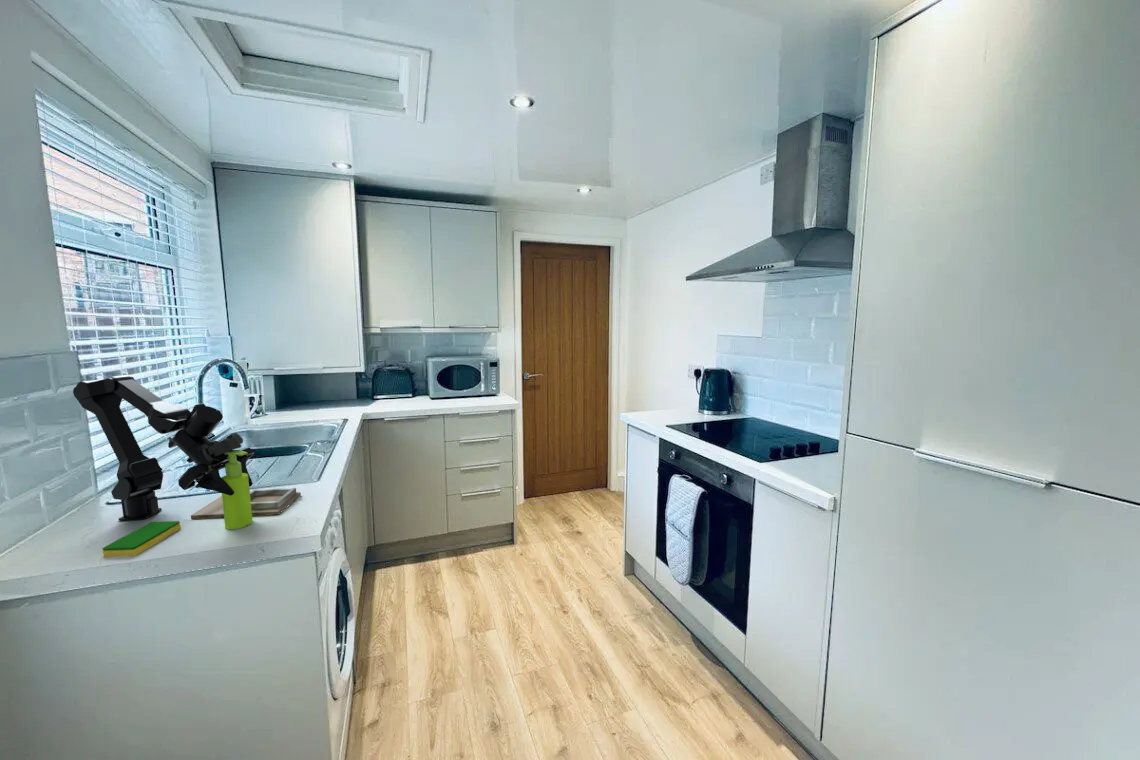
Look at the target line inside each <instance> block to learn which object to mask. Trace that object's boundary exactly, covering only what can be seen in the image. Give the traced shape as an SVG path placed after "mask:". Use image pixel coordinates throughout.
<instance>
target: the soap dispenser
mask: <svg viewBox="0 0 1140 760" xmlns="http://www.w3.org/2000/svg"><path fill="white" fill-rule="evenodd" d="M246 454H247V452H245V451H241V450H239V449H234V450H231V451H228V452H226V453H224V455H228V456H227V459H228V460H229V462H228V463H227V464H225V468H224V470H225V475H224V476H222V477H221V478H222V479H223V480H224V481H225V482H226V483H227V484H228V485H229V486H230V487H231V488H232V490H233V491H234V494H233V495H232V496H230V495H227V494H223V493H221V496H222V501H223V511H224V517H223V519H224V527H225V529H227V530H238V529H241V528H245V527H248V526H249V524H250V523H251V524H252V523H253V516H252V510H251V500H250V492H251V491H250V490H251V489H250V487H249V479H248V474H247V473H242V468H241V462H238V461H237V458H236V455H238V456H243V455H246ZM251 524H250V525H251ZM247 525H248V526H247ZM244 526H245V527H244Z"/></svg>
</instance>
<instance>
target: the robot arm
mask: <svg viewBox="0 0 1140 760" xmlns="http://www.w3.org/2000/svg"><path fill="white" fill-rule="evenodd" d="M72 392H73V396H74V398H75V399H76V400H77V402H78V403H79V404H80V406H81V407H82V408H83V409H84V410H87V411H88V412H90V413H92V414H94V416H95V417H96V418H97V422H98V423H99V425H100V427H101V428H102V431H103V433H104V435H105V436H106V439H107V441H108V443H109V445H110V447H111V449H112V450H113V452H114V455H115V456H116V459H117V460H118V463H119V465H118V468H117V472H116V477H117V480H118V482H117V483H116V484H115V486H114V487H113V488H112V490H111V491H110V493H111V496H112V498H113V499H114V500H119V501H121V502H120V503H121V509H122V516H121V517H118V521H135V520H136V521H139V520H140V521H141V520H146V519H148V518H149V517H151V516H153V515H155V514H158V512H160V511H162V507H159V502H158V496H156V491H157V490H160V489H162V483H163V480H164V472H163V468H162V467H161V466H160V464H159V461H158V459H157V458H156V457H155V456H154V457H148V456H146V455H145V454H144V453H143V451H142V449H141V447H140V445H139V443H138V441H137V439H136V437H135V435H134V433H133V431H132V429H131V427H130V425H129V423H128V421H127V419H126V417H125V415H124V413H123V411H122V409H121V405H122V404H121V403H122V401H123V400H124V401H125V402H126V403H128V404H130V405H131V406H133V407H134V408H135V409H137V410H139V412H141V413H142V414H144V415H145V416H146V417H147V423H148V424H149V426H150V427H152V428H153V429H154V430H155V431H156V432H157V433H158V434H160V435H166V434H170V433H174V432H176V433H175V434H174V435H172V436H169V437H168V444H167V446H168V448H169V449H171V448H175V447H178V449H180V450H181V451H182V452H183V453H184V454H185V455H186V457H188V458H187V459H186V460H185V461H186V462H188V464H191V463H194V464H195V465H194V466H191V467H188V468H187V469H186V471H185V472H184V473H183V474H182V475H181V477H179V478H178V481H177V482H178V486H179V487H180V488H181V489H182V490H183V491H186V490H188V489H191V488H194V487H195V488H196V489H198V488H201V489H205V490H208V491H209V490H210V491H213V492H217V493H220V494H222V493H223V494H227V495H230V496H232V495H233V494H234V491H233V490H232V488H231V487H230V486H229V485H228V484H227V483H226V482H225V481H224V480H223V479H222V477H221V475H220V470H223V469H225V464H227V463H228V462H229V460H228V455H224V453H226V452H228V451H231V450H237V449H238V450H241V451H245V452H247V454H246V455H243V456H238V455H236V458H237V461H238V462H241V468H242V473H247V474H248V479H249V488H250V487H252V486H253V480H252V478H251V476H250V473H249V471H248V468H247V462H248V461H249V459H251V457H253V455H254V454H255V451H254V450H253V449H252V448H250V447H249V446H248V447H243V448H241V447H242V444H243V442H244V439H243V437H242V436H241V435H240V434H239V433H237V432H235V433H231V434H230V435H227V436H226V438H225V439H223V440H220V441H218V440H213V441H211V440H210V439H209V438H208V436H210V435H211V434H212V433H213V431H214V430H216V428H217V426H218V425H219V424H220V423H221V421H222V420H223V417H224V416H223V413H222V412H221V411H220V410H219V409H217V408H214V407H212V406H209V405H207V406H206V404H205V403H204V402H203V403H198V404H194V406H193V408H192V410H191V411H190V410H189V409H188V408H186V407H184V406H182V405H180V404H176V403H172V402H167V401H165V400H163V399H162V398H160V397H159V396H158V395H156V394H155V393H153V392H152V391H151V390H149V389H147V388H146V387H144V386H143V385H142V384H140V382H138V381H136V380H135V378H134V376H131V375H127V374H123V375H115V376H109V377H107V378H102V379H94V380H93V379H92V380H83V381H79V382H78V383H76V386H75V387H73V390H72ZM239 448H240V449H239ZM196 483H197V484H196Z"/></svg>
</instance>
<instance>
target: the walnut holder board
mask: <svg viewBox="0 0 1140 760" xmlns="http://www.w3.org/2000/svg"><path fill="white" fill-rule="evenodd" d="M300 495H301V491H298V492H297V488H296V487H291V488H290V487H285V488H262V489H252V490H251V491H250V500H251V510H252V515H265V516H273V515H272V514H279V513H280V512H281V511H282V510H283V511H285V510H286V509H287V508H288V507H289V506H290V505H292V504H293V503H294V502H295V501H296V500H297V499H298V498H299V497H301V496H300ZM294 500H295V501H294ZM293 501H294V502H293ZM292 502H293V503H292ZM289 504H290V505H289ZM288 505H289V506H288ZM287 506H288V507H287ZM286 507H287V508H286ZM285 508H286V509H285ZM284 509H285V510H284ZM283 511H282V512H283ZM282 512H281V513H282ZM281 513H280V514H281ZM280 514H279V515H280ZM222 517H223V518H224V511H223V501H222V495H220V496H219V497H218V498H215V499H214V500H212V501H211V502H210V503H208V504H206V505H205V506H203V507H202V508H200V509H198V510H197V511H196V512H194V513H192V514H190V519H191V520H194V519H195V520H196V519H200V520H201V519H219V518H222Z"/></svg>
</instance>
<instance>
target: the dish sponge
mask: <svg viewBox="0 0 1140 760" xmlns="http://www.w3.org/2000/svg"><path fill="white" fill-rule="evenodd" d="M179 530H181V524H180V520H172V521H171V520H169V521H168V520H167V521H166V520H165V521H150V522H149V523H146V524H145V525H143V526H140V527H139V528H137V529H135V530H133V531H132V532H130V533H128V534H126V535H124V536H123V537H121V538H119V539H117V540H115V541H113V542H111V543H109V544H107V545H105V546H104V547H102V548H101V549H102V554H103V557H130V556H131V557H132V556H137V555H138V554H140V553H142V552H144V551H145V550H147V549H149V548H151V547H152V546H154V545H155V544H157V543H159V542H161V541H162V540H164V539H165V538H167V537H169V536H170V535H172V534H174V533H175V532H177V531H179Z"/></svg>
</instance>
